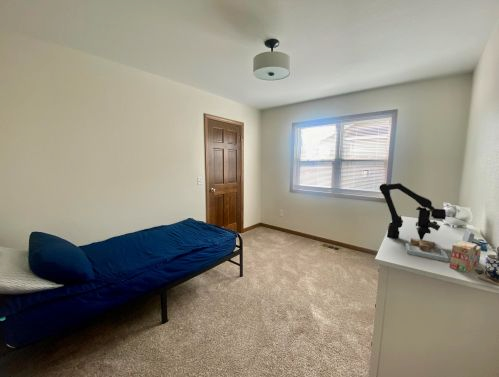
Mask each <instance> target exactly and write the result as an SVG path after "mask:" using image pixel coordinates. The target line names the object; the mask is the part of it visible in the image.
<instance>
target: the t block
mask: <svg viewBox="0 0 499 377" xmlns="http://www.w3.org/2000/svg"><path fill="white" fill-rule="evenodd" d="M409 244H410V245H414V246H416V247H417V246H418V248H419V251H423V252H424V251H425V252H429V249H436V242H435V241H429V240H424V239H423V240H420V238H419V239H417V238H412V237H411V238H410V243H409Z"/></svg>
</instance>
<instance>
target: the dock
mask: <svg viewBox="0 0 499 377" xmlns="http://www.w3.org/2000/svg"><path fill="white" fill-rule="evenodd" d="M405 251H406V254H409V255H413V256H418V257H422V258H426V259H427V258H428V259H432V260H437V261H441V262H447V263H448V262H450V261H449V260H450V258H449V257H448V255H447V253H446V252H445V250H444V249H440V250H439V254H440V255H439V254H434V253H428V252H424V251H423V252H422V251H418V250H411V248H410V243H407V242H406V243H405Z"/></svg>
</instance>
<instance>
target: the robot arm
mask: <svg viewBox="0 0 499 377" xmlns="http://www.w3.org/2000/svg"><path fill="white" fill-rule="evenodd" d="M378 188H379V191H380V193H381V194H382V195H383V197H384V199H385V202H386V205H387V208H388V210H389V213H390V216H391V222H389V223H388V226H387V233H386V237H387V238H393V239H399V238H400V230H399V229H400V228H402V227H403V223H404V220H403V219H402V215H399V213H398V212H397V209H396V207H395V204H394V201H393V198H392V196H391V191H392V190H399V191H400V192H402V193H403V194H405V195H407V196H408V197H410V198H412V199H413V200H414V201H415V202H416V203H417V204H419V205H420V206H418V207H416V208H415V210H416V211H418V217H417V221H416V222H415V228H416V231H417V234H418V237H419V240H424V237H425V236H426V234H429V235H430V234H431V232H432V231H431V229H433V230H435V231H437V232H438V231H439V229H440V228H441V225H439V224H438V222H437V221H435V220H442V221H443V220H444V221H445V220H446V217H447V215H446V208H435V207H434V206H433V203H432V200H430V199H429V198H427V197H424V196H422V195H419V194H418V193H416V192H415V191H413V190H411V189H410V188H408V187H406V186H404V185H403V184H402V183H399V182H397V183H381V185H379V187H378ZM430 217H431V218H432V219H435V220H434V221H431V220H430Z"/></svg>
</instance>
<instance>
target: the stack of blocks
mask: <svg viewBox="0 0 499 377" xmlns="http://www.w3.org/2000/svg"><path fill="white" fill-rule="evenodd" d="M481 251H482V246H480V245H478V244H477V243H474V242H470V241H469V242H468V241H463V240H459V241H458V242H456V243H453V244H452V249H451V253H450V254H451V255H450V261H449V268H451V269H453V270H456V271H460V272H463V273H464V274H465V273H468V272H470V271H471V270H472V269H473V268H474V267H475V266H477V265H479V263H480V259H481Z"/></svg>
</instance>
